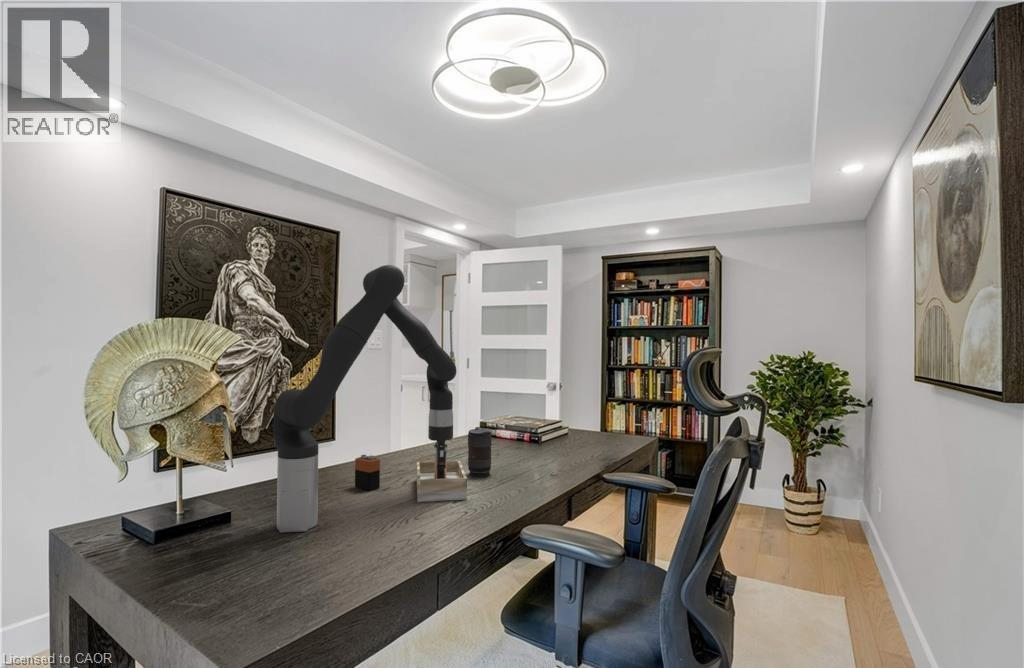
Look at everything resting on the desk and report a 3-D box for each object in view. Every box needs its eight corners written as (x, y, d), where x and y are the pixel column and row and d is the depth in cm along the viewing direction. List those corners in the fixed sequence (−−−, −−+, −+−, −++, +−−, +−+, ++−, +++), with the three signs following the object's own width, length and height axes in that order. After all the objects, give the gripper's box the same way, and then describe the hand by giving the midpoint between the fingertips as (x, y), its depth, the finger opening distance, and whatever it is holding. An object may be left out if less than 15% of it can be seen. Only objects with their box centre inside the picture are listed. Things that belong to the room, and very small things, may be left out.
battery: (369, 491, 154) (369, 458, 154) (354, 487, 158) (354, 455, 158) (380, 488, 158) (380, 455, 158) (365, 484, 161) (365, 452, 161)
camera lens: (462, 475, 173) (463, 430, 173) (477, 470, 180) (478, 427, 180) (481, 479, 169) (481, 433, 169) (496, 474, 175) (496, 430, 175)
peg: (446, 490, 155) (446, 461, 156) (434, 491, 155) (434, 461, 155) (445, 487, 159) (446, 458, 159) (434, 488, 158) (434, 458, 158)
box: (466, 499, 147) (466, 478, 147) (417, 501, 145) (417, 480, 145) (459, 478, 169) (460, 460, 169) (416, 480, 166) (416, 461, 166)
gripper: (455, 427, 151) (454, 485, 151) (451, 419, 165) (450, 472, 165) (429, 427, 149) (428, 486, 149) (427, 420, 163) (427, 473, 163)
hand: (440, 479), depth 157 cm, fingers open, 4 cm apart
